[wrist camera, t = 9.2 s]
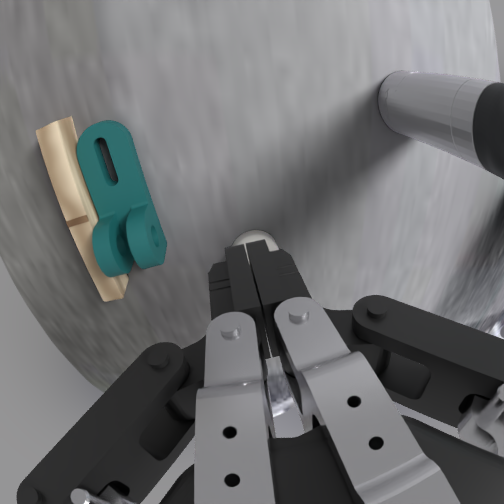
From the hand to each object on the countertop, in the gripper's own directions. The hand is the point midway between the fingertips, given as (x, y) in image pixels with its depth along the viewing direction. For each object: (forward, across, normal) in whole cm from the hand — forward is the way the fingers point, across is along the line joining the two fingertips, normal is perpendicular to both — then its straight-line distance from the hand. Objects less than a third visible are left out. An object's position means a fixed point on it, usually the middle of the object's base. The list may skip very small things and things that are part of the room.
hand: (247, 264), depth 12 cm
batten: (+27, +18, +4) cm, 33 cm away
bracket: (+27, +13, +3) cm, 30 cm away
